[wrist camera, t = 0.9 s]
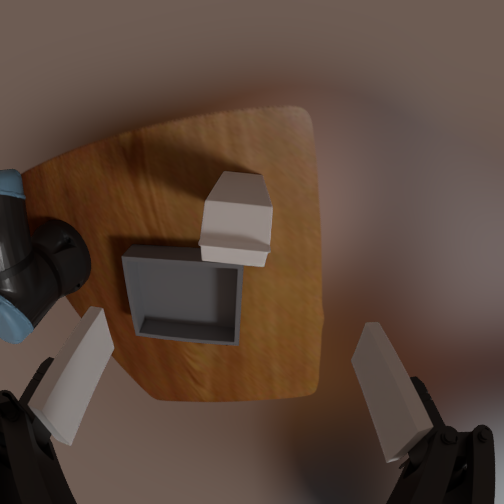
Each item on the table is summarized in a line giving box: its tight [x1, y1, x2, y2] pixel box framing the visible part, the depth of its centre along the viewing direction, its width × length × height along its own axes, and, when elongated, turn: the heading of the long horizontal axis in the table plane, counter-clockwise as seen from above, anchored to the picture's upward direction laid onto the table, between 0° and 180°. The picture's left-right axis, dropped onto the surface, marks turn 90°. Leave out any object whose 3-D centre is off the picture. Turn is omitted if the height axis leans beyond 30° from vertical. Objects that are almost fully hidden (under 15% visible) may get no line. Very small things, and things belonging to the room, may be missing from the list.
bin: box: [122, 244, 243, 346], centre depth 47 cm, size 20×17×5 cm
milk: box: [198, 171, 273, 267], centre depth 32 cm, size 6×6×22 cm
